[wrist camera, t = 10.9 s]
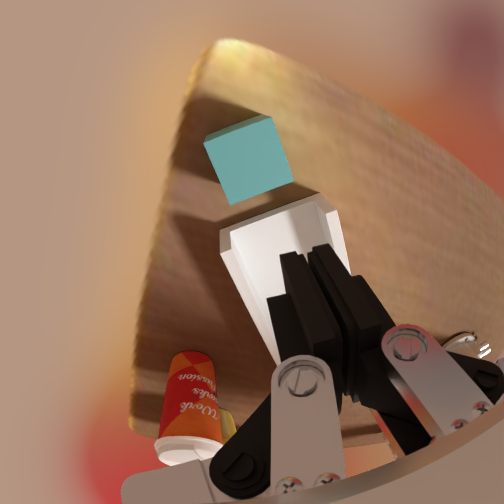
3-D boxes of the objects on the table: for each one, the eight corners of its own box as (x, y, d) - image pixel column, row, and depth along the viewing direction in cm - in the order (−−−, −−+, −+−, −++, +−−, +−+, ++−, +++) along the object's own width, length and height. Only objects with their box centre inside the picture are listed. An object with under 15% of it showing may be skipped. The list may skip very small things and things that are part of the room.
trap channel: (319, 192, 27) (336, 209, 23) (355, 349, 39) (365, 373, 35) (219, 230, 28) (219, 253, 24) (288, 374, 39) (294, 399, 36)
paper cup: (233, 367, 37) (242, 462, 25) (190, 387, 39) (188, 474, 27) (194, 335, 34) (191, 441, 22) (150, 358, 35) (137, 454, 23)
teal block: (280, 166, 26) (261, 114, 23) (294, 181, 21) (271, 117, 19) (228, 186, 26) (206, 135, 24) (230, 205, 22) (203, 143, 19)
